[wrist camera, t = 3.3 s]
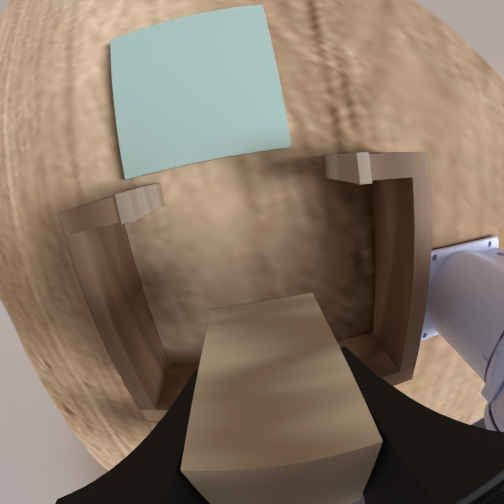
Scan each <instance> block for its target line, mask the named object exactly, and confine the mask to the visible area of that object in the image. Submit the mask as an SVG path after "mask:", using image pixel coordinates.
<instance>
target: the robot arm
mask: <svg viewBox="0 0 504 504" xmlns="http://www.w3.org/2000/svg"><path fill="white" fill-rule="evenodd" d="M433 256H434V258H433V259H432V257H433ZM424 333H425V334H424ZM423 334H424V335H423ZM438 334H440V335H441V336H442V337H443V338H444V339H445V340H446V341H447V342H448V343H449V344H450V345H451V346H452V347H453V348H454V349H455V350H456V351H457V352H458V353H459V355H460V356H461V357H462V358H463V359H464V360H465V361H466V362H467V363H468V364H469V365H470V366H471V368H472V369H473V370H474V371H475V372H476V373H477V374H478V375H479V377H480V378H481V379H482V380H483V381H484V382H485V386H484V388H483V390H482V392H481V394H482V395H483V396H484V397H485V399H486V400H487V401H488V403H487V405H486V407H485V411H484V419H485V425H486V428H487V429H483V428H479V427H475V426H472V425H468V424H465V423H462V422H459V421H457V420H454V419H452V418H449V417H447V416H444V415H442V414H439V413H437V412H435V411H433V410H431V409H429V408H427V407H425V406H423V405H421V404H420V403H418V402H416V401H415V400H413V399H411V398H410V397H408V396H406V395H405V394H404V393H402V392H401V391H399V390H398V389H396V388H395V387H393V386H392V385H391V384H389V383H388V382H387V381H385V380H384V379H383V378H382V377H380V376H379V375H378V374H377V373H375V372H374V371H373V370H372V369H370V368H369V367H368V366H367V365H366V364H365V363H364V362H362V361H361V360H360V359H359V358H358V357H357V356H356V355H355V354H354V353H353V352H351V351H350V350H349V349H348V348H347V347H341V348H340V349H341V351H342V353H343V355H344V357H345V360H346V362H347V364H348V366H349V368H350V370H351V372H352V374H353V376H354V379H355V381H356V383H357V385H358V387H359V389H360V391H361V394H362V396H363V398H364V400H365V402H366V405H367V407H368V409H369V411H370V413H371V416H372V418H373V420H374V422H375V425H376V427H377V429H378V431H379V434H380V436H381V438H382V441H383V442H382V445H381V448H380V451H379V453H378V456H377V459H376V461H375V464H374V467H373V469H372V472H371V474H370V477H369V479H368V481H367V484H366V486H365V488H364V490H363V495H364V500H365V504H504V491H503V489H504V251H503V250H501V249H499V248H498V237H496V236H491V237H487V238H483V239H479V240H475V241H471V242H467V243H462V244H458V245H454V246H449V247H445V248H440V249H436V250H431V266H430V278H429V288H428V297H427V304H426V312H425V318H424V324H423V330H422V336H421V340H424V339H427V338H430V337H432V336H435V335H438ZM197 374H198V370H195V371H194V372H193V373H192V375H191V377H190V378H189V380H188V381H187V383H186V384H185V386H184V388H183V389H182V391H181V392H180V394H179V395H178V397H177V398H176V400H175V401H174V402H173V404H172V405H171V407H170V408H169V410H168V411H167V412H166V414H165V415H164V416H163V418H162V419H161V420H160V421H159V423H158V424H157V425H156V426H155V428H154V429H153V430H152V431H151V432H150V434H149V435H148V436H147V437H146V438H145V439H144V440H143V441H142V442H141V443H140V444H139V445H138V446H137V447H136V448H135V449H134V450H133V451H132V452H131V453H130V454H129V455H128V456H127V457H126V458H125V459H123V460H122V461H121V462H120V463H119V464H117V465H116V466H115V467H114V468H112V469H111V470H110V471H108V472H107V473H106V474H104V475H102V476H101V477H99V478H98V479H96V480H95V481H94V482H92V483H90V484H88V485H87V486H85V487H83V488H81V489H79V490H77V491H75V492H73V493H71V494H69V495H66V496H64V497H62V498H59V499H58V500H57V501H56V503H55V504H210V503H209V502H208V501H207V500H206V499H205V498H204V497H203V496H202V495H201V493H200V492H199V491H198V490H197V489H196V488H195V487H194V486H193V485H192V483H191V482H190V481H189V480H188V479H187V478H186V476H185V475H184V474H183V473H182V472H181V464H182V458H183V452H184V446H185V440H186V434H187V428H188V423H189V417H190V412H191V406H192V401H193V395H194V390H195V385H196V380H197Z"/></svg>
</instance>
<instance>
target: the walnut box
mask: <svg viewBox="0 0 504 504" xmlns="http://www.w3.org/2000/svg"><path fill="white" fill-rule="evenodd" d="M324 161H325V168H326V176H327V178H329V179H334V180H340V181H345V182H350V183H355V184H360V185H361V184H371V185H372V197H373V211H374V230H375V304H374V323H373V332H372V333H368V334H364V335H360V336H356V337H352V338H348V339H344V340H339V341H337V343H338V345H339V347H340V348H341V347H347V348H348V349H349V350H350V351H351V352H353V353H354V354H355V355H356V356H357V357H358V358H359V359H360V360H361V361H362V362H364V363H365V364H366V365H367V366H368V367H369V368H370V369H372V370H373V371H374V372H375V373H377V374H378V375H379V376H380V377H382V378H383V379H384V380H385V381H387V382H388V383H389V384H391V385H392V386H394V385H397V384H400V383H402V382H405V381H408V380H411V379H412V376H413V372H414V368H415V364H416V360H417V355H418V351H419V346H420V341H421V336H422V330H423V324H424V318H425V312H426V304H427V297H428V288H429V278H430V266H431V249H432V189H431V173H430V161H429V152H392V153H370V154H369V152H360V153H346V154H335V155H324ZM163 205H164V201H163V196H162V191H161V186H160V183H157V184H153V185H148V186H144V187H140V188H137V189H133V190H129V191H125V192H121V193H118V194H115V196H113V197H109V198H106V199H102V200H99V201H96V202H92V203H89V204H86V205H83V206H80V207H77V208H74V209H71V210H68V211H65V212H62V213H60V218H61V222H62V226H63V230H64V234H65V237H66V241H67V245H68V248H69V252H70V255H71V258H72V261H73V265H74V268H75V271H76V274H77V277H78V280H79V283H80V285H81V288H82V291H83V294H84V296H85V299H86V302H87V304H88V307H89V309H90V312H91V314H92V317H93V319H94V322H95V324H96V326H97V329H98V331H99V333H100V335H101V338H102V340H103V342H104V344H105V346H106V348H107V350H108V352H109V354H110V357H111V359H112V361H113V363H114V364H115V366H116V368H117V370H118V372H119V374H120V376H121V378H122V380H123V382H124V383H125V385H126V387H127V389H128V390H129V392H130V394H131V396H132V397H133V399H134V401H135V402H136V404H137V406H138V407H139V409H140V411H141V412H142V414H143V415H144V417H145V419H146V420H147V421H160V420H161V419H162V418H163V416H164V415H165V414H166V412H167V411H168V410H169V408H170V407H171V405H172V404H173V402H174V401H175V400H176V398H177V397H178V395H179V394H180V392H181V391H182V389H183V388H184V386H185V384H186V383H187V381H188V380H189V378H190V377H191V375H192V373H193V372H194V371H195V370H198V369H199V364H200V362H198V363H185V364H170V363H169V361H168V358H167V356H166V353H165V351H164V348H163V346H162V343H161V340H160V338H159V335H158V332H157V330H156V327H155V324H154V321H153V319H152V316H151V313H150V310H149V307H148V304H147V301H146V298H145V295H144V292H143V289H142V286H141V283H140V279H139V276H138V273H137V269H136V266H135V263H134V259H133V255H132V252H131V248H130V244H129V241H128V237H127V233H126V229H125V225H124V224H127V223H131V222H134V221H136V220H138V219H140V218H141V217H143V216H145V215H147V214H149V213H150V212H152V211H154V210H156V209H158V208H160V207H161V206H163Z"/></svg>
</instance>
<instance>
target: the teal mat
mask: <svg viewBox="0 0 504 504" xmlns="http://www.w3.org/2000/svg"><path fill="white" fill-rule="evenodd" d="M110 53H111V73H112V87H113V99H114V109H115V117H116V126H117V133H118V140H119V147H120V153H121V159H122V165H123V171H124V176H125V180H127V179H131V178H135V177H139V176H143V175H147V174H150V173H154V172H158V171H163V170H167V169H171V168H175V167H180V166H184V165H189V164H194V163H198V162H203V161H208V160H214V159H219V158H224V157H230V156H236V155H242V154H248V153H254V152H261V151H268V150H275V149H283V148H290V147H291V141H290V135H289V129H288V123H287V117H286V112H285V106H284V101H283V95H282V90H281V85H280V80H279V75H278V70H277V65H276V61H275V56H274V51H273V47H272V43H271V38H270V34H269V30H268V25H267V21H266V17H265V13H264V9H263V5H253V6H243V7H235V8H228V9H221V10H215V11H210V12H204V13H199V14H194V15H190V16H186V17H181V18H177V19H173V20H170V21H166V22H162V23H159V24H156V25H152V26H149V27H146V28H143V29H140V30H137V31H134V32H131V33H129V34H126V35H123V36H121V37H118V38H116V39H113V40H111V41H110Z"/></svg>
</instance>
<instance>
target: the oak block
mask: <svg viewBox="0 0 504 504" xmlns="http://www.w3.org/2000/svg"><path fill="white" fill-rule="evenodd" d="M382 442H383V441H382V438H381V436H380V434H379V431H378V429H377V427H376V425H375V422H374V420H373V418H372V416H371V413H370V411H369V409H368V407H367V405H366V402H365V400H364V398H363V396H362V394H361V391H360V389H359V387H358V385H357V383H356V381H355V379H354V376H353V374H352V372H351V370H350V368H349V366H348V364H347V362H346V360H345V357H344V355H343V353H342V351H341V349H340V347H339V345H338V343H337V341H336V339H335V337H334V335H333V333H332V331H331V329H330V327H329V325H328V323H327V321H326V319H325V317H324V315H323V313H322V311H321V309H320V307H319V305H318V303H317V301H316V299H315V297H314V295H313V293H307V294H301V295H296V296H290V297H285V298H279V299H273V300H267V301H261V302H255V303H248V304H242V305H235V306H229V307H222V308H215V309H211V310H210V315H209V320H208V325H207V330H206V334H205V339H204V344H203V349H202V354H201V359H200V364H199V369H198V374H197V380H196V385H195V390H194V395H193V401H192V406H191V412H190V417H189V423H188V428H187V434H186V440H185V446H184V452H183V458H182V464H181V472H182V473H183V474H184V475H185V476H186V478H187V479H188V480H189V481H190V482H191V483H192V485H193V486H194V487H195V488H196V489H197V490H198V491H199V492H200V493H201V495H202V496H203V497H204V498H205V499H206V500H207V501H208V502H209V503H210V504H349V503H353V502H356V501H359V499H360V497H361V495H362V493H363V490H364V488H365V486H366V484H367V481H368V479H369V477H370V474H371V472H372V469H373V467H374V464H375V461H376V459H377V456H378V453H379V451H380V448H381V445H382Z"/></svg>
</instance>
